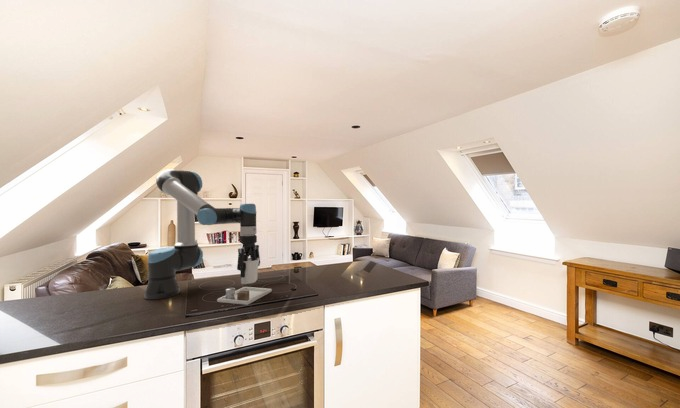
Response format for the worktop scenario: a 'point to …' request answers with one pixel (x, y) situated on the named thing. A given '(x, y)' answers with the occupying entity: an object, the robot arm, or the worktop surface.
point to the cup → (252, 270)
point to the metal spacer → (230, 293)
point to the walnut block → (243, 295)
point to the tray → (253, 295)
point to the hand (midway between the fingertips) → (249, 281)
